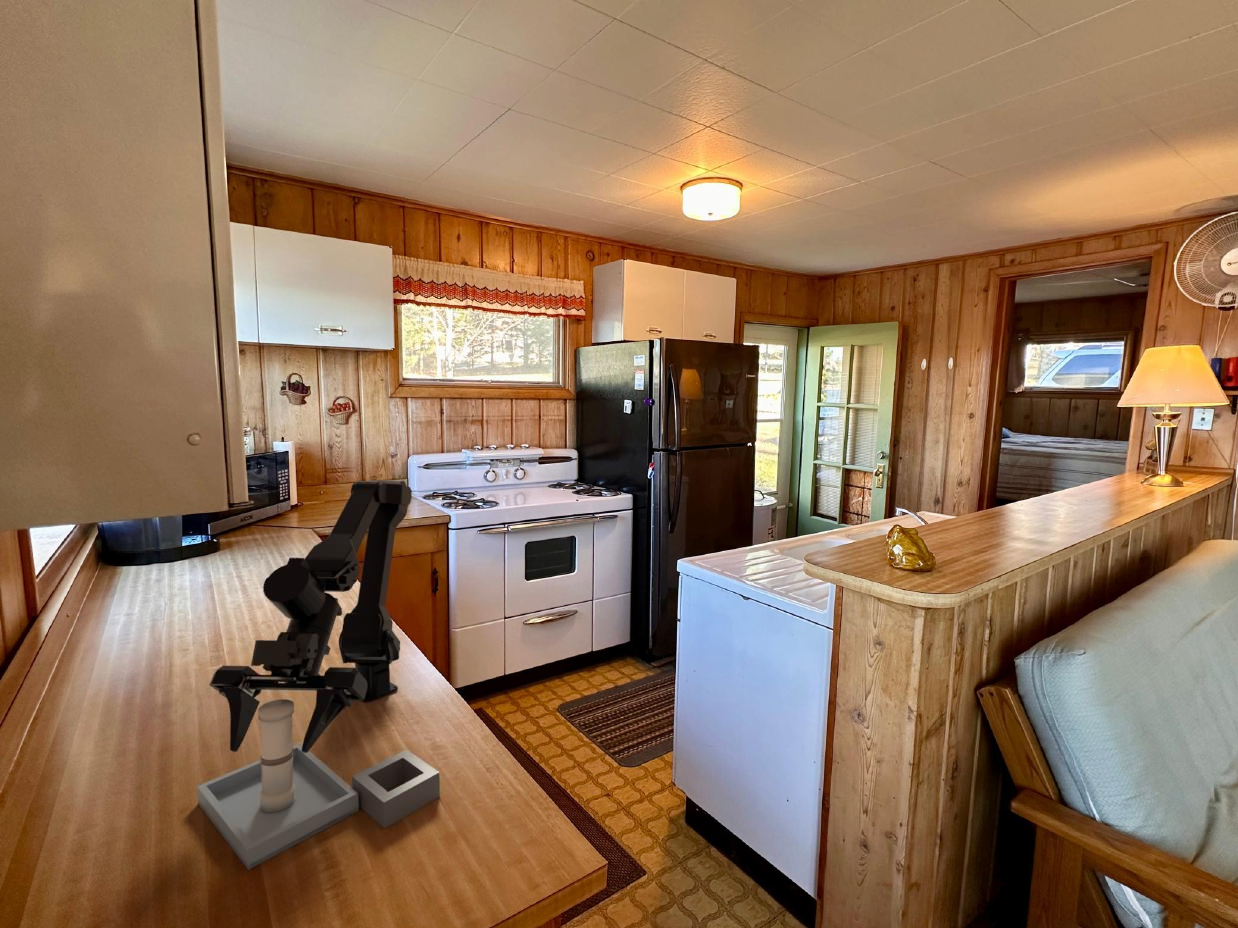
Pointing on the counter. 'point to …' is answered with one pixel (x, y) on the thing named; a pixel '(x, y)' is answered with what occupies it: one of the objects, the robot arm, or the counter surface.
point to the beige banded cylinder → (276, 755)
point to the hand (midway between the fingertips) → (268, 751)
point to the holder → (402, 799)
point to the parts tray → (272, 833)
